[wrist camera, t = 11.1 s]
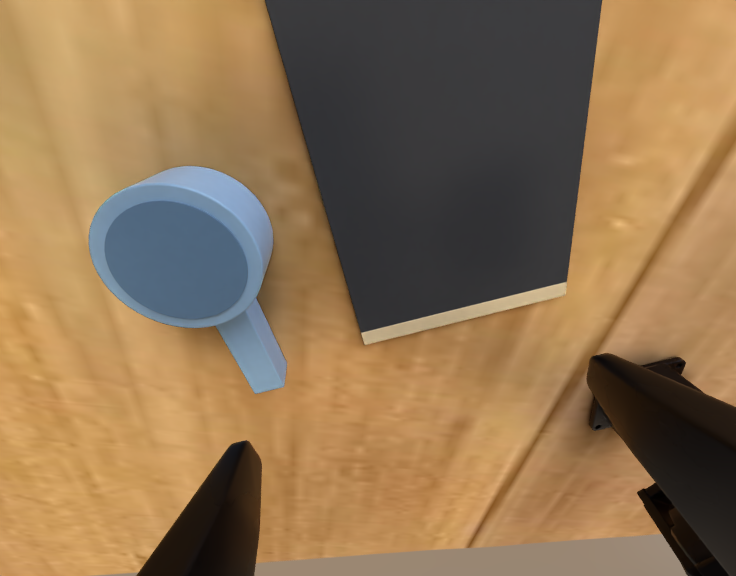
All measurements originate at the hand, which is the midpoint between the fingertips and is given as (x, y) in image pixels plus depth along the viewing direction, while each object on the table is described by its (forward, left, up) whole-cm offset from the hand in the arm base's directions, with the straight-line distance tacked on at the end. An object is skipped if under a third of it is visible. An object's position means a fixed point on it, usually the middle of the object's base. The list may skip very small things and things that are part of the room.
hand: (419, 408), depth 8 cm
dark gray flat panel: (+3, -5, -11) cm, 12 cm away
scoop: (0, +8, -11) cm, 13 cm away
